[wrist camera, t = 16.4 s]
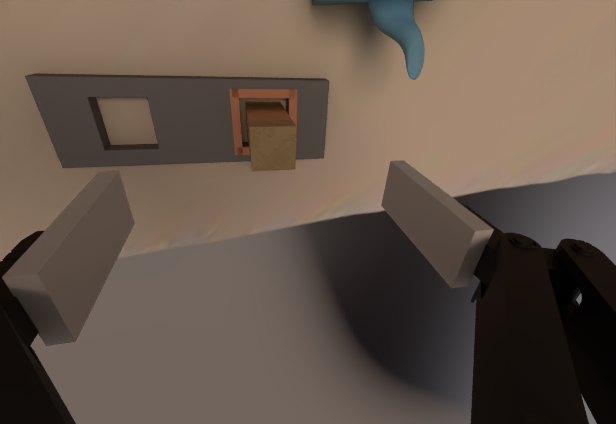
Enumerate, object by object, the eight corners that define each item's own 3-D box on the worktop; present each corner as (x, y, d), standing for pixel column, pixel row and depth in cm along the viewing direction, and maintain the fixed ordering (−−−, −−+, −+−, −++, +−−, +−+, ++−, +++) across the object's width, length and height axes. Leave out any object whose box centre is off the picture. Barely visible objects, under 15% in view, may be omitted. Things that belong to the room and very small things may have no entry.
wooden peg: (247, 136, 40) (251, 171, 30) (245, 101, 37) (249, 127, 27) (280, 135, 41) (295, 169, 31) (280, 101, 38) (296, 126, 28)
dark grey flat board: (70, 161, 37) (61, 169, 35) (36, 73, 32) (23, 76, 30) (320, 153, 43) (324, 159, 41) (325, 78, 38) (329, 81, 36)
